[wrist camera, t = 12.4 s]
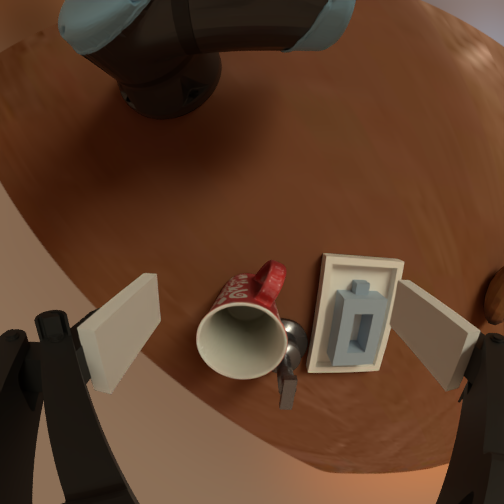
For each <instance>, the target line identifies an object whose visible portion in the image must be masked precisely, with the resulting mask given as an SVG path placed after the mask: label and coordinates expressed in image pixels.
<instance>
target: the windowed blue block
mask: <svg viewBox="0 0 504 504" xmlns="http://www.w3.org/2000/svg"><path fill="white" fill-rule="evenodd" d="M369 288H370V283H369V282H367V281H366V280H353V281H352V288H351V290H337V292H336V299H335V306H334V312H333V319H332V325H331V330H330V336H329V342H328V347H327V355H328V357H329V359H330V362H331V364H332V366H343V365H365V364H373V361H374V357H375V353H376V350H377V346H378V342H379V338H380V333H381V329H382V325H383V320H384V316H385V311H386V306H387V301H388V300H387V299H386V298H385V297H384V296H383V295H381V294H380V293H379V292H378V291H369ZM355 314H362V317H361V322H360V327H359V332H358V336H357V340H350V336H351V332H352V326H353V321H354V316H355Z"/></svg>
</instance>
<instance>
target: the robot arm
mask: <svg viewBox="0 0 504 504" xmlns="http://www.w3.org/2000/svg"><path fill="white" fill-rule="evenodd" d="M355 2H356V0H65V2H64V4H63V6H62V8H61V11H60V14H59V19H58V28H59V32H60V34H61V36H62V37H63V39H64V40H66V41H67V42H68V43H69V44H70V45H71V46H72V47H73V49H74V50H75V51H76V52H77V53H78V54H80V55H82V56H83V57H85V58H86V59H88V60H89V61H91V62H92V63H93V64H95V65H96V66H98V67H99V68H101V69H102V70H103V71H105V72H106V73H107V74H109V75H110V76H112V77H113V78H114V79H116V80H117V83H118V86H119V89H120V92H121V94H122V97H123V98H124V100H125V102H126V103H127V104H128V105H129V106H130V107H131V108H132V109H134V110H135V111H137V112H138V113H140V114H141V115H143V116H146V117H149V118H153V119H170V118H175V117H179V116H182V115H184V114H187V113H189V112H191V111H192V110H194V109H196V108H197V107H198V106H200V105H201V104H202V103H203V102H205V101H206V100H207V99H208V98H209V96H210V95H211V94H212V93H213V91H214V90H215V88H216V86H217V84H218V82H219V79H220V76H221V59H220V56H219V52H230V51H281V52H291V51H321V50H325V49H327V48H328V47H330V46H331V45H333V44H335V43H336V42H337V41H338V40H339V38H340V37H341V36H342V34H343V33H344V31H345V29H346V27H347V25H348V23H349V21H350V19H351V16H352V13H353V10H354V6H355ZM34 321H35V324H36V328H37V332H38V335H39V339H40V342H28V339H27V336H26V333H25V331H23V330H19V329H15V330H13V329H11V330H10V331H9V330H8V331H6V332H5V333H3V334H2V335H1V336H0V504H32V488H33V486H32V485H33V470H34V457H35V449H36V441H37V433H38V427H39V421H40V415H41V410H42V405H43V400H44V407H45V414H46V421H47V427H48V433H49V438H50V443H51V447H52V452H53V456H54V461H55V464H56V469H57V472H58V476H59V479H60V483H61V486H62V489H63V492H64V496H65V500H66V501H65V503H62V504H139V502H138V500H137V499H136V497H135V495H134V494H133V492H132V490H131V488H130V486H129V484H128V483H127V481H126V479H125V477H124V475H123V473H122V471H121V470H120V467H119V465H118V463H117V461H116V459H115V457H114V455H113V453H112V451H111V448H110V446H109V444H108V442H107V439H106V437H105V435H104V432H103V430H102V428H101V425H100V422H99V420H98V417H97V414H96V412H95V409H94V406H93V403H92V401H91V398H90V395H89V392H88V389H87V386H86V384H87V382H88V381H89V379H90V378H91V381H92V383H93V387H94V390H96V391H100V392H104V393H108V394H112V392H113V391H114V389H115V388H116V386H117V385H118V383H119V382H120V380H121V379H122V377H123V376H124V374H125V372H126V371H127V370H128V368H129V367H130V365H131V364H132V362H133V361H134V359H135V358H136V356H137V355H138V353H139V352H140V350H141V349H142V347H143V346H144V344H145V343H146V342H147V340H148V339H149V337H150V336H151V334H152V333H153V331H154V330H155V329H156V327H157V326H158V324H159V323H160V321H161V318H160V307H159V296H158V283H157V274H149V273H143V274H142V275H141V276H140V277H138V278H137V279H136V280H135V281H133V282H132V283H131V284H130V285H128V286H127V287H126V288H125V289H123V290H122V291H121V292H120V293H118V294H117V295H116V296H115V297H113V298H112V299H111V300H110V301H108V302H107V303H106V304H105V305H104V306H102V307H101V308H98V309H96V310H94V311H92V312H90V313H89V314H87V315H86V316H85V317H84V318H82V319H81V320H80V322H78V323H76V324H75V325H74V326H73V327H72V328H70V327H69V323H68V318H67V314H66V313H65V312H64V311H61V310H51V311H46V312H43V313H41V314H39V315H38V316H36V318H35V320H34ZM389 325H390V326H391V327H392V328H393V329H394V331H395V332H396V333H397V334H398V335H399V336H400V337H401V339H402V340H403V341H404V342H405V343H406V344H407V345H408V347H409V348H410V349H411V350H412V351H413V352H414V354H415V355H416V356H417V357H418V358H419V359H420V361H421V362H422V363H423V364H424V365H425V367H426V368H427V369H428V370H429V371H430V373H431V374H432V375H433V376H434V377H435V379H436V380H437V381H438V382H439V384H440V385H441V386H442V387H443V389H444V390H445V391H449V390H453V389H456V388H459V385H460V383H461V381H462V379H463V376H465V377H466V379H467V380H468V382H467V384H466V386H465V388H464V390H463V392H462V394H461V397H460V399H459V401H458V402H460V401H461V400H462V399H463V403H462V409H461V415H460V421H459V426H458V431H457V435H456V440H455V444H454V448H453V452H452V456H451V460H450V463H449V467H448V470H447V473H446V477H445V480H444V483H443V486H442V489H441V491H440V494H439V497H438V500H437V502H436V504H504V336H502V335H501V334H497V333H488V334H486V335H484V334H483V333H481V332H480V330H479V329H477V328H476V327H475V326H473V325H472V324H471V323H469V322H468V321H467V320H465V319H464V318H463V317H461V316H460V315H459V314H457V313H456V312H454V311H453V310H452V309H450V308H449V307H447V306H446V305H445V304H443V303H442V302H440V301H439V300H438V299H436V298H435V297H433V296H432V295H430V294H429V293H427V292H426V291H425V290H423V289H422V288H420V287H419V286H417V285H416V284H414V283H413V282H411V281H410V280H398V282H397V288H396V294H395V299H394V304H393V309H392V314H391V319H390V323H389Z"/></svg>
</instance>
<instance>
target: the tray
mask: <svg viewBox="0 0 504 504" xmlns="http://www.w3.org/2000/svg"><path fill="white" fill-rule="evenodd" d="M403 267H404V262H403V261H401V260H399V259H393V258H380V257H367V256H355V255H342V254H329V253H323V256H322V264H321V272H320V280H319V287H318V295H317V301H316V308H315V315H314V321H313V327H312V334H311V339H310V345H309V351H308V356H307V362H306V367H307V371H308V373H336V372H363V371H379V368H380V365H381V362H382V358H383V355H384V351H385V348H386V344H387V341H388V337H389V333H390V329H391V326H390V325H389V323H390V319H391V314H392V309H393V304H394V299H395V294H396V288H397V282H398V280H401V278H402V272H403ZM353 280H366V281H367V282H369V283H370V288H369V291H378V292H379V293H380V294H381V295H383V296H384V297H385V298H386V299H387V300H388V301H387V306H386V311H385V316H384V320H383V325H382V329H381V333H380V338H379V342H378V346H377V350H376V353H375V357H374V361H373V364H365V365H343V366H332V364H331V362H330V359H329V357H328V355H327V347H328V342H329V336H330V330H331V325H332V319H333V312H334V306H335V299H336V292H337V290H351V288H352V281H353ZM361 317H362V314H355V316H354V321H353V326H352V332H351V336H350V340H357V336H358V332H359V327H360V322H361Z"/></svg>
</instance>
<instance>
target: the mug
mask: <svg viewBox="0 0 504 504" xmlns="http://www.w3.org/2000/svg"><path fill="white" fill-rule="evenodd" d="M285 278H286V267H285V266H284V265H283V264H281V263H279V262H277V261H274V260H270V261H268V262H267V263H265V264H264V265H263V266H262V268H261V269H260V270H259V271H258V272H257V274H256V275H254V274H249V273H245V274H239V275H236V276H234V277H233V278H231V279H230V280H229V281H228V282H227V283H226V284H225V286H224V287H223V289H222V291H221V292H220V294H219V296H218V297H217V299H216V301H215V302H214V304H213V306H212V307H211V309H210V310H209V312H208V313H207V314H206V315H205V316H204V318H203V319H202V320H201V322H200V324H199V326H198V329H197V333H196V344H197V349H198V351H199V353H200V356H201V357H202V359H203V360H204V361H205V363H206V364H207V365H208V366H209V367H210V368H212V369H213V370H214V371H216V372H217V373H219V374H221V375H224V376H226V377H230V378H234V379H253V378H258V377H261V376H263V375H265V374H267V373H269V372H271V371H272V370H273V369H275V368H276V367H277V366H278V365H279V364H280V362H281V361H282V359H283V358H284V356H285V354H286V351H287V346H288V337H287V333H286V330H285V327H284V325H283V323H282V322H281V320H280V317H279V314H278V310H277V307H276V303H275V299H276V297H277V296H278V294H279V292H280V290H281V288H282V286H283V283H284V281H285Z"/></svg>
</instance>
